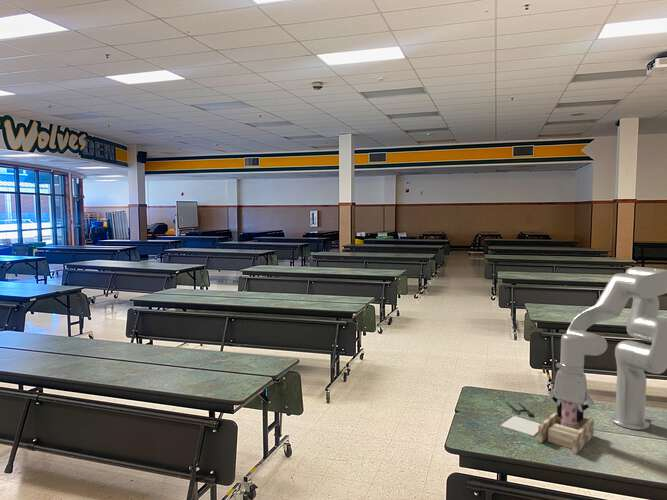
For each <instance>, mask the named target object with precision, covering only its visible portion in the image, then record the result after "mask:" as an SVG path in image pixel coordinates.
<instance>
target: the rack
mask: <svg viewBox="0 0 667 500" xmlns="http://www.w3.org/2000/svg"><path fill="white" fill-rule="evenodd" d="M554 423H556V424H559V425H561V417H558V413H557V410H556V411H554V412H553V413H552V414H550V416H548V417H546V419H544V420H543V421H542V422H540V425H538V433H537V443H539V444H542V443H544V442H545V441H546V440H548V428H549V427H550V426H552V425H553V424H554ZM594 424H595V419H593V418H590V417H586V416H583V420H581V421H580V422H579V427H578V431H577V432H576V433H575V434H574V435H573V448H572V454H573V455H577V454H578V453H579V452H580V451H581V450H582V449H583V448H584V447H585V446H586V444H587V443H588V442H589V441H590V440H591V439H592V438H593V437H594V428H595V426H594Z"/></svg>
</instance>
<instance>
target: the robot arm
mask: <svg viewBox="0 0 667 500" xmlns="http://www.w3.org/2000/svg"><path fill="white" fill-rule="evenodd" d="M665 294H667V269H663V268H655V267H654V268H653V267H647V266H646V267H643V266H633V267H629V268H627V269H626V271H625V272H623V273H619V272H618V273H615V274H613V275H611V277H610V279H609V280H608V282H607V283H606V285H605V287H604V289H603V290H602V293H601V294H600V296H599V298H598V299H597V300H596V303H595V304H594V305H592V306H591V307H588V308H587V309H584V311H582V312H580V313H579V314H578V315H576V316H575V317H574V318H573V320H572V321H571V323H570V325H569V326H568V328H567V330H566V332H565V333H564V334H562V335H561V337H560V356H559V357H560V359H559V360H560V362H556V363H555V367H558V368H559V369H558V370H557V371H556V375H555V380H554V386H553V388H552V389H551V390H549V391H548V392H547V395H549V397H550V398H551V399H552V401H553V402H554V403H555V405H556V411H557V413H558V417H561V407H562V400H563V401H569V402H572V403H575V404H577V406H578V409H579V410H578V411H577V422H580V421H581V420H583V417H584V411H585V410H587V409H589V408H590V407H592V406H594V405H595V402H594V401H593V399H592V398H591V396H590V395H589V394H588V383H587V382H588V381H587V376H586V374H585V371H584V370H585V369H584V366H585V356H601V355H602V354H604V353H605V352H606V351H607V349H608V341H607V340H606V339H605V337H603V336H602V335H600V334H597V333H593V332H589V331H587V330H588V328H590V327H591V326H593V325H594V324H597V323H601V322H604V321H608V320H609V321H610V320H614V319H618V318H619V317H620V316H621V314H622V312H623V310H624V308H625V307H626V305H627V304H628V302H629V300H630V299H631V298H632V304H631V309H630V312H629V316H628V319H627V323H626V332H627V334H628V335H629V336H630V337H633V338H635V339H637V340H642V341H645V342H651V345H649V344H645V343H642V342H638V341H635V340H629V339H628V340H622V341H620V342H618V343H617V344H616V346H615V349H614V357H615V363H616V389H615V390H616V391H615V411H614V412H615V413H613V414H611V415H610V420H611V422H612V423H614V424H615V425H617V426H619V427H623V428H626V429H630V430H638V431H639V430H640V431H644V430H647V429H649V428H650V422H649V421H647V420H646V418H645V417H646V402H647V401H646V399H647V377H646V373H645V372H648V373H651V374H654V375H655V374H656V375H659V374H660V375H661V374H662V373H664V372H665V371H666V370H667V318H665V317H664V318H663V317H660V316H658V313H659V309H660V300H659V296H662V295H665ZM585 402H587V403H586V404H585Z"/></svg>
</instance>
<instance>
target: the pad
mask: <svg viewBox="0 0 667 500" xmlns="http://www.w3.org/2000/svg"><path fill="white" fill-rule="evenodd" d="M540 424H541V422H540V423H539V422H536V421H532V420H529V419H525V418H523V417H522V418H521V417H518V416H515V415H513V416H512V417H511V418H508V420H505V422H503V423H502V424H500V427H501V428H505V429H507V430H510V431H513V432H517V433H520V434H523V435H525V436H526V435H527V436H529V437H532V438H533V437H535V436H537V435H538V425H540Z"/></svg>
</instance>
